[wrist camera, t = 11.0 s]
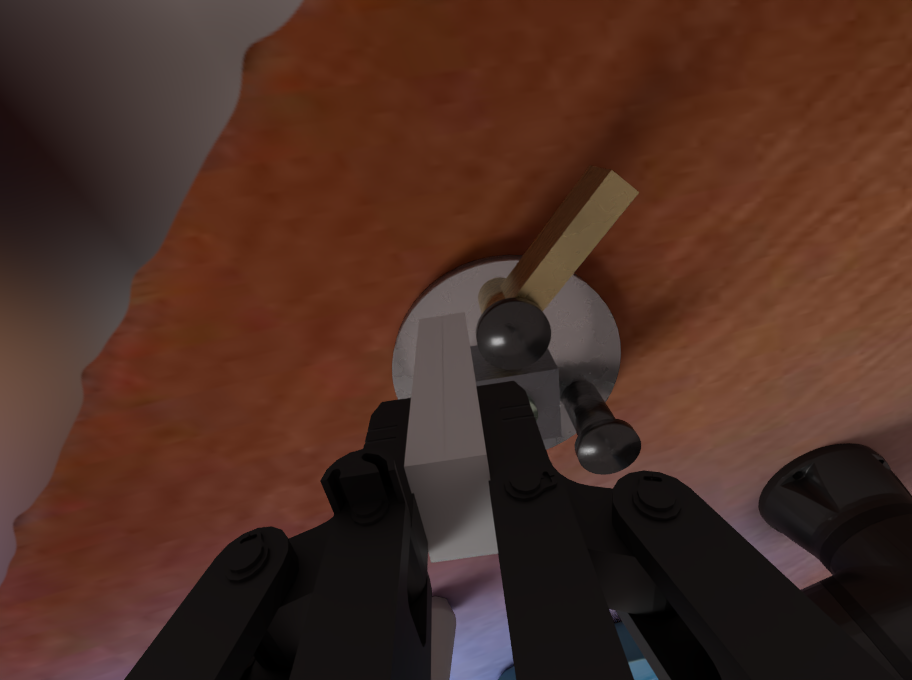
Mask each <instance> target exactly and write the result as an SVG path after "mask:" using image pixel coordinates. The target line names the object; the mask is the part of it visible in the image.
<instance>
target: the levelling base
mask: <svg viewBox="0 0 912 680" xmlns="http://www.w3.org/2000/svg"><path fill="white" fill-rule="evenodd" d="M522 256H523V255H502V256H492V257H487V258H483V259H479V260H475V261H472V262H469V263H467V264H464V265H461V266H459V267H457V268H455V269H453V270H451V271H450V272H448V273H446V274H444V275H443V276H442V277H440V278H439V279H437V280H436V281H434V282H433V283H432V284H431V285H430V286H429V287H428V288H426V289H425V290H424V291H423V292H422V293H421V294H420V295H419V297H418V298H417V299H416V300H415V301H414V303H413V304H412V305H411V307H410V309H409V310H408V312H407V313H406V315H405V317H404V319H403V321H402V324H401V326H400V328H399V331H398V335H397V339H396V342H395V348H394V354H393V362H392V375H393V383H394V388H395V392H396V395H397V397H398V400H399V399H406V398H411V393H412V384H413V374H414V364H415V354H416V345H417V335H418V325H419V319H423V318H429V317H436V316H442V315H448V314H454V313H461V312H465V317H466V323H467V329H468V336H469V342H470V348H471V355H472V361H473V367H474V373H475V380H476V386H481V385H488V384H494V383H501V382H507V381H515V382H516V383H517V384H518V385H520V386H521V387H522V388H523V389H524V390H526V393H527V396H528V399H529V402H530V406H531V408H532V411H533V414H534V417H535V419H536V422H537V425H538V428H539V431H540V434H541V437H542V440H543V443H544V445H545V448H546V449H549V448H551V447H554V446H556V445H558V444H560V443H561V442H563V441H565V440H567V439H568V438H570V437H571V436H573V435H574V434H576V433H577V435H578V437H577V439H576V442H575V452H576V455H577V457H578V459H579V462H580V464H581V465H582V466H583V468H585V469H586V470H587V471H589V472H592V473H595V474H612V473H616V472H619V471H621V470H623V469H625V468H626V467H628V466H629V465H631V464H632V463H633V462H634V461H635V460H636V458H637V457H638V455H639V453H640V450H641V441H640V438H639V436H638V435H637V433H636V432H635V430H634V429H633V427H632V426H631V425H630V424H628V423H627V422H625V421H623V420H620V419H615V417H614V416H613V414H612V412H611V411H610V409H609V408H608V406H607V405H606V403H605V402H606V401H607V399H608V397H609V395H610V394H611V392H612V389H613V387H614V384H615V382H616V379H617V375H618V371H619V367H620V358H621V345H620V338H619V333H618V328H617V326H616V323H615V320H614V318H613V316H612V314H611V312H610V310H609V308H608V307H607V305H606V304H605V302H604V301H603V300H602V299H601V297H600V296H599V295H598V294H597V293H596V292H595V291H594V290H593V289H592V288H591V287H590V286H589V285H588V284H587V283H586V282H585V281H584V280H582V279H581V278H580V277H579V276H578V275H576V274H573V275H572V276H571V277H570V278H569V280H568V281H567V282H566V283H565V285H564V286H563V287H562V288H561V290H560V291H559V292H558V293H557V295H556V296H555V297H554V298H553V300H552V301H551V302H550V303H549V304H548V306H547V307H546V308H545V309H544V311H543V312H544V314H545V316H546V317H547V319H548V321H549V324H550V327H551V340H550V344H549V346H548V348H547V350H546V352H545V353H544V354H543V356H542V357H541V358H540V359H538V360H537V361H536V362H534V363H533V364H531V365H529V366H527V367H524V368H521V369H515V370H507V369H501V368H498V367H495V366H493V365H491V364H490V363H489V362H487V361H486V360H485V359H484V358H483V356H482V355H481V353H480V351H479V349H478V345H477V340H476V326H477V323H478V320H479V318H480V316H481V315H482V314H481V310H480V307H479V303H478V294H479V291H480V289H481V287H482V286H483V285H484V284H485V283H486V282H487V281H489V280H490V279H493V278H498V277H502V278H507V277H508V275H509V274H510V273H511V271H512V270H513V268H514V267H515V266H516V264H517V263H518V262H519V260H520V259H521V258H522Z"/></svg>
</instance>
